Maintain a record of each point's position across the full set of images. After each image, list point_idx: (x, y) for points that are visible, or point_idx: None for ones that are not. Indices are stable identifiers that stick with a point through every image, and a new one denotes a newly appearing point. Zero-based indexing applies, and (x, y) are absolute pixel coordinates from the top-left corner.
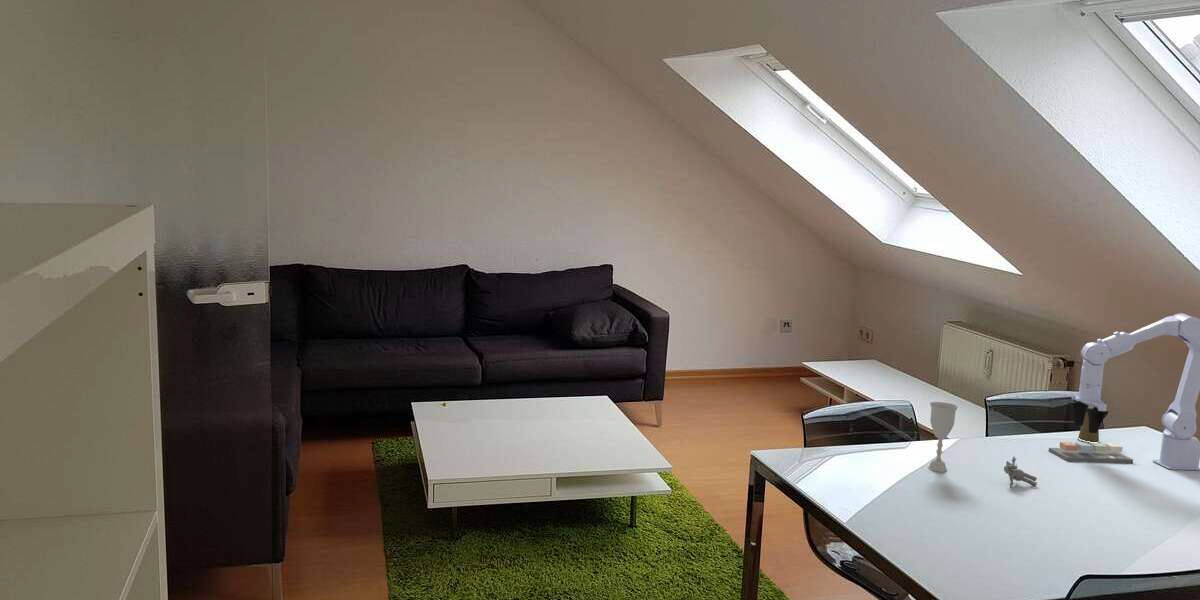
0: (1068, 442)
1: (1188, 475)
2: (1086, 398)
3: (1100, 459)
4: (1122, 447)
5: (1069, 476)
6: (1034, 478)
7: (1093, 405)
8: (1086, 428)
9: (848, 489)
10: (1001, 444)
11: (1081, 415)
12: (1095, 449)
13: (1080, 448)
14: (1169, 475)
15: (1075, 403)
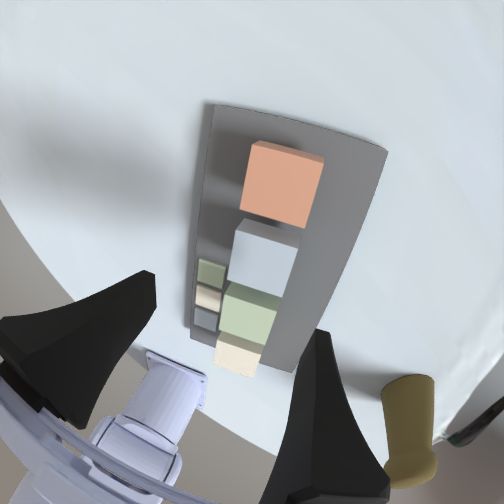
0: (301, 207)
1: None
2: (25, 481)
3: (197, 250)
4: (214, 362)
5: (80, 21)
6: None
7: (65, 440)
8: (410, 415)
9: None
10: (496, 29)
11: (295, 414)
12: (233, 284)
13: (245, 223)
14: None
15: (299, 495)
